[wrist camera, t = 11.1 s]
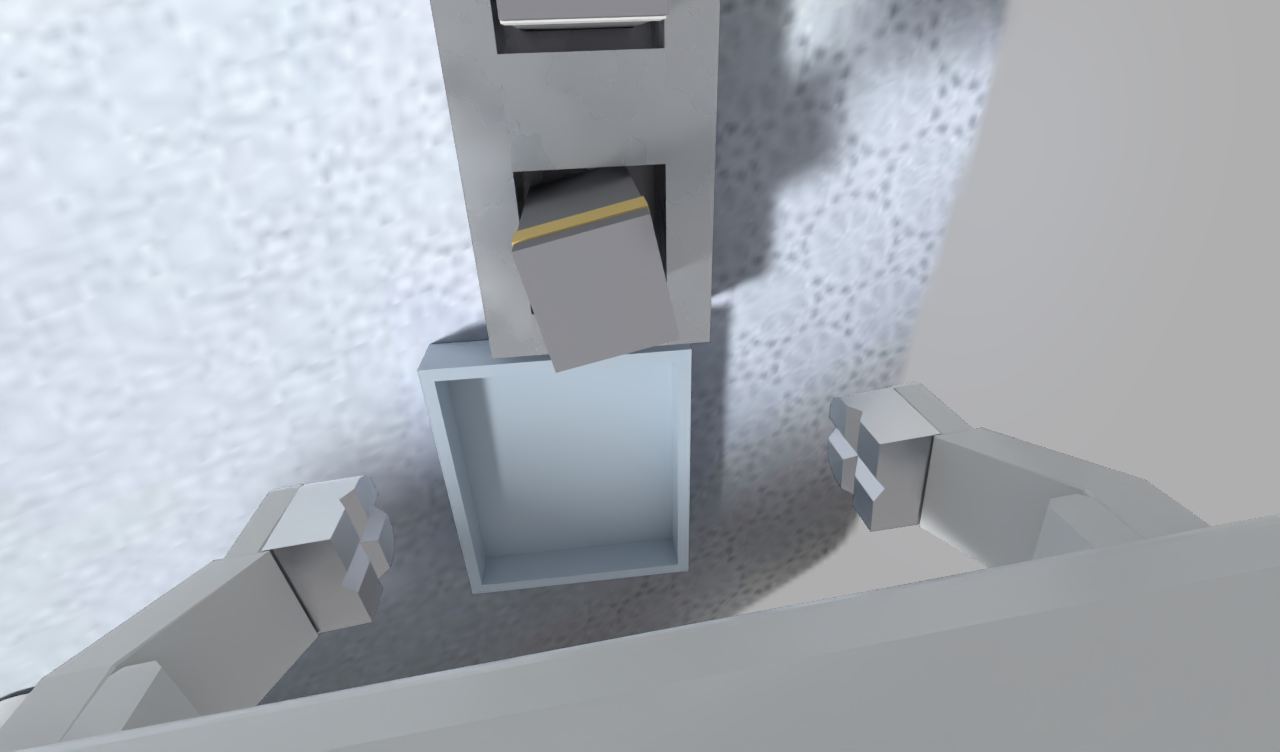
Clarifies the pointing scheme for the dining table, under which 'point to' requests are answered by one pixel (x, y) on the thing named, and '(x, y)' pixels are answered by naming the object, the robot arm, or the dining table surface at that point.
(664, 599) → the dining table surface
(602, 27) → the twin plug
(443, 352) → the tray
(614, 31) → the double slot holder
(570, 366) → the plug
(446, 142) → the dining table surface
